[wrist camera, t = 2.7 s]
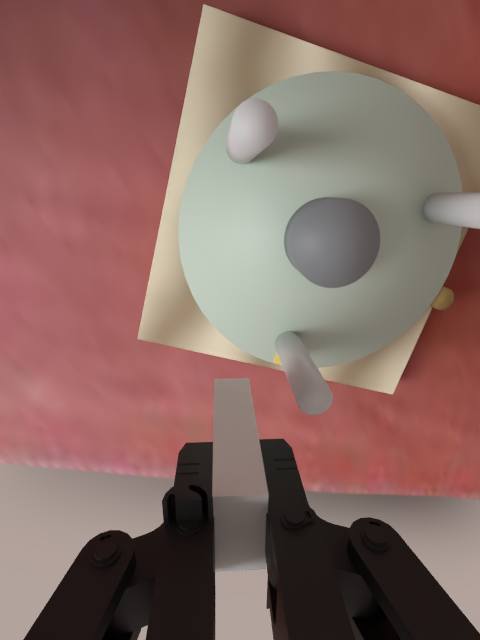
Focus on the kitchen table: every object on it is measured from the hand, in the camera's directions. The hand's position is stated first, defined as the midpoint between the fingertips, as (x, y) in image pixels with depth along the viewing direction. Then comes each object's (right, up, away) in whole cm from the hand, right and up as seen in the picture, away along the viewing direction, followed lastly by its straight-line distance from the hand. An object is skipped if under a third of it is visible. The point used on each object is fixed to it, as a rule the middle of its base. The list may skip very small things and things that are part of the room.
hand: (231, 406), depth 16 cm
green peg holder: (+5, +9, +5) cm, 11 cm away
